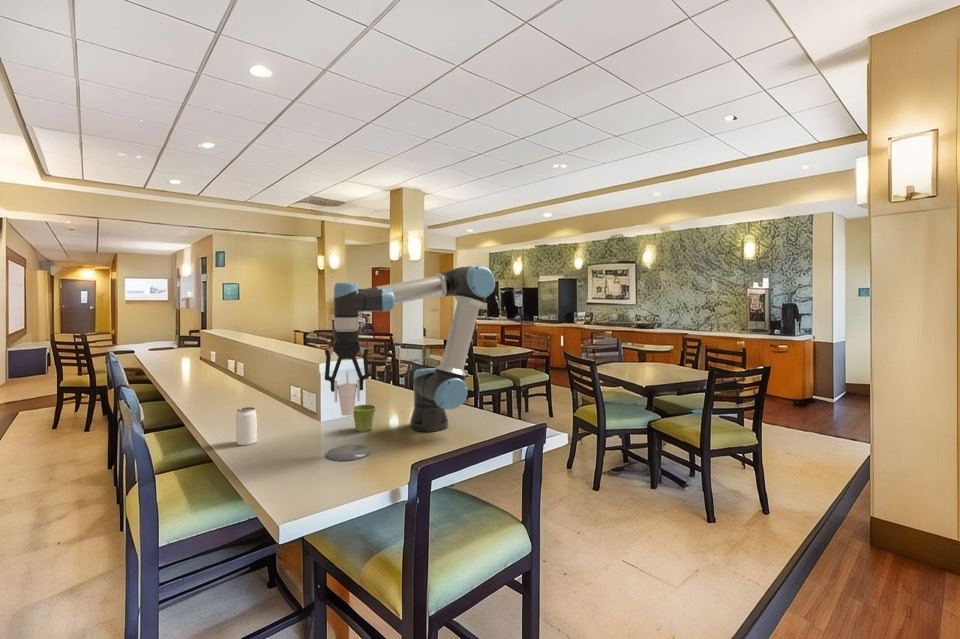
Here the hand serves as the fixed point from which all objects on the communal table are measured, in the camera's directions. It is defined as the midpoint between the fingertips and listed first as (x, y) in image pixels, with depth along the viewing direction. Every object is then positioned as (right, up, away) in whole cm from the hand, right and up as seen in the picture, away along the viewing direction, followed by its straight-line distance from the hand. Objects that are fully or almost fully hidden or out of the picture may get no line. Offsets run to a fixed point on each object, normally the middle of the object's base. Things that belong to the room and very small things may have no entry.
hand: (347, 400), depth 151 cm
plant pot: (-1, -16, +28) cm, 32 cm away
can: (-39, -17, +12) cm, 44 cm away
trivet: (0, -18, +1) cm, 18 cm away
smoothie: (0, -5, 0) cm, 5 cm away
